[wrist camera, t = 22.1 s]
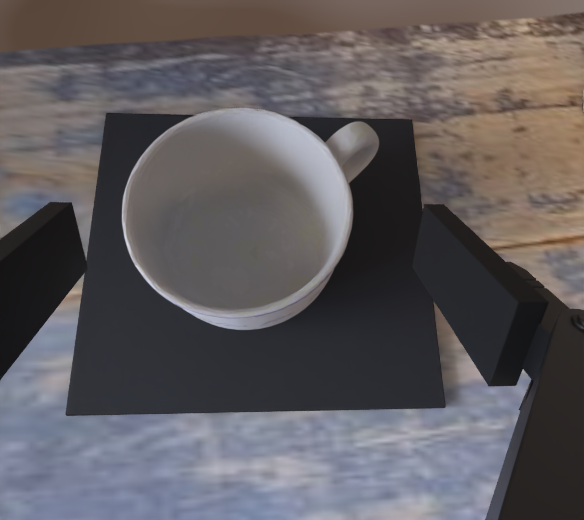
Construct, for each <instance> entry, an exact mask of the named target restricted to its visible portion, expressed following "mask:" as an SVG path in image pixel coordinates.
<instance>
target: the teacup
mask: <svg viewBox="0 0 584 520" xmlns="http://www.w3.org/2000/svg"><path fill="white" fill-rule="evenodd" d="M378 147H379V139H378V136H377V134H376V132H375V131H374V130H373V129H372V128H371V127H370V126H369V125H368V124H366V123H364V122H353V123H350V124H348V125H346V126H344V127H343V128H341V129H339V130H338V131H337V132H336V133H335V134H333V135H332V136H331V137H330V138H329V139H328V140H327V141H326V142H324V141H323V140H322V139H321V138H320V137H319V136H317V135H316V134H315V133H313V132H312V131H311V130H310V129H308V128H306V127H305V126H303V125H301V124H300V123H298V122H297V121H295V120H293V119H291V118H289V117H287V116H285V115H282V114H279V113H276V112H273V111H268V110H263V109H258V108H245V107H234V108H223V109H217V110H213V111H209V112H204V113H200V114H197V115H195V116H192V117H190V118H188V119H186V120H184V121H182V122H180V123H178V124H176V125H175V126H173V127H171V128H169V129H168V130H167V131H166V132H164V133H163V134H162V135H161V136H159V137H158V138H157V139H156V140H155V141H154V142H153V143H152V144H151V145H150V146H149V147H148V148H147V149H146V151H145V152H144V153H143V155H142V156H141V157H140V158H139V160H138V162H137V163H136V165H135V167H134V168H133V170H132V172H131V175H130V177H129V179H128V182H127V185H126V188H125V192H124V195H123V203H122V225H123V231H124V238H125V242H126V245H127V248H128V251H129V254H130V256H131V258H132V261H133V263H134V264H135V266H136V268H137V269H138V270H139V272H140V273H141V274H142V276H143V277H144V278H145V280H146V281H147V282H148V283H149V284H150V285H151V286H152V288H154V289H155V290H156V291H157V292H158V293H159V294H160V295H162V296H163V297H164V298H166V299H167V300H169V301H170V302H172V303H173V304H175V305H177V306H179V307H181V308H183V309H184V310H185V311H187V312H189V313H190V314H192V315H194V316H195V317H197V318H199V319H201V320H203V321H205V322H208V323H210V324H213V325H216V326H219V327H223V328H228V329H236V330H253V329H261V328H266V327H270V326H273V325H276V324H279V323H282V322H284V321H286V320H288V319H290V318H292V317H293V316H295V315H297V314H298V313H300V312H301V311H302V310H304V309H305V308H306V307H307V306H308V305H309V304H311V303H312V302H313V301H314V300H315V298H316V297H317V296H318V295H319V294H320V292H321V291H322V290H323V288H324V287H325V285H326V283H327V282H328V280H329V278H330V276H331V275H332V273H333V270H334V268H335V267H336V265H337V264H338V262H339V261H340V259H341V257H342V256H343V254H344V252H345V249H346V246H347V243H348V239H349V236H350V233H351V229H352V222H353V198H352V193H351V189H350V186H349V183H350V182H351V181H352V180H353V179H354V178H355V177H356V176H357V175H358V174H359V173H360V172H361V171H362V170H363V169H364V168H365V167H366V166H367V165H368V164H369V163H370V162H371V160H372V159H373V158H374V156H375V154H376V152H377V151H378Z"/></svg>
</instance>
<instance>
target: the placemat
mask: <svg viewBox="0 0 584 520" xmlns="http://www.w3.org/2000/svg"><path fill="white" fill-rule="evenodd" d="M192 116H195V115H171V114H123V113H106V119H105V127H104V134H103V142H102V149H101V156H100V164H99V171H98V179H97V186H96V193H95V201H94V208H93V215H92V223H91V230H90V238H89V245H88V252H87V260H86V263H87V267H88V269H87V270H86V271H85V275H84V282H83V289H82V297H81V304H80V312H79V319H78V326H77V334H76V341H75V348H74V356H73V363H72V371H71V378H70V385H69V393H68V400H67V408H66V416H75V415H124V414H173V413H222V412H271V411H320V410H369V409H418V408H445V398H444V389H443V381H442V372H441V364H440V355H439V347H438V338H437V329H436V321H435V312H434V304H433V299H432V297H431V295H430V294H429V292H428V291H427V289H426V288H425V286H424V285H423V283H422V281H421V280H420V278H419V277H418V275H417V274H416V272H415V270H414V269H413V267H412V265H413V260H414V254H415V249H416V244H417V239H418V234H419V228H420V223H421V218H422V213H423V210H422V201H421V193H420V184H419V175H418V167H417V158H416V150H415V141H414V133H413V124H412V120H409V119H361V118H314V117H289V118H291V119H293V120H295V121H297V122H298V123H300V124H301V125H303V126H305V127H306V128H308V129H310V130H311V131H312V132H313V133H315V134H316V135H317V136H319V137H320V138H321V139H322V140H323V141H324V142H326V141H327V140H328V139H329V138H330V137H331V136H332V135H333V134H335V133H336V132H337V131H338V130H339V129H341V128H343V127H344V126H346V125H348V124H350V123H353V122H364V123H366V124H368V125H369V126H370V127H371V128H372V129H373V130H374V131H375V132H376V134H377V136H378V139H379V147H378V151H377V152H376V154H375V156H374V158H373V159H372V160H371V162H370V163H369V164H368V165H367V166H366V167H365V168H364V169H363V170H362V171H361V172H360V173H359V174H358V175H357V176H356V177H355V178H354V179H353V180H352V181H351V182H350V183H349V186H350V189H351V193H352V198H353V222H352V229H351V233H350V236H349V239H348V243H347V246H346V249H345V252H344V254H343V256H342V257H341V259H340V261H339V262H338V264H337V265H336V267H335V268H334V270H333V273H332V275H331V276H330V278H329V280H328V282H327V283H326V285H325V287H324V288H323V290H322V291H321V292H320V294H319V295H318V296H317V297H316V298H315V300H314V301H313V302H312V303H311V304H309V305H308V306H307V307H306V308H305V309H304V310H302V311H301V312H300V313H298V314H297V315H295V316H293V317H292V318H290V319H288V320H286V321H284V322H282V323H279V324H276V325H273V326H270V327H266V328H261V329H253V330H236V329H228V328H223V327H219V326H216V325H213V324H210V323H208V322H205V321H203V320H201V319H199V318H197V317H195V316H194V315H192V314H190V313H189V312H187V311H185V310H184V309H183V308H181V307H179V306H177V305H175V304H173V303H172V302H170V301H169V300H167V299H166V298H164V297H163V296H162V295H160V294H159V293H158V292H157V291H156V290H155V289H154V288H152V286H151V285H150V284H149V283H148V282H147V281H146V280H145V278H144V277H143V276H142V274H141V273H140V272H139V270H138V269H137V268H136V266H135V264H134V263H133V261H132V258H131V256H130V254H129V251H128V248H127V245H126V242H125V238H124V231H123V225H122V203H123V195H124V192H125V188H126V185H127V182H128V179H129V177H130V175H131V172H132V170H133V168H134V167H135V165H136V163H137V162H138V160H139V158H140V157H141V156H142V155H143V153H144V152H145V151H146V149H147V148H148V147H149V146H150V145H151V144H152V143H153V142H154V141H155V140H156V139H157V138H158V137H159V136H161V135H162V134H163V133H164V132H166V131H167V130H168V129H169V128H171V127H173V126H175V125H176V124H178V123H180V122H182V121H184V120H186V119H188V118H190V117H192Z"/></svg>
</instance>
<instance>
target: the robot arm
mask: <svg viewBox="0 0 584 520" xmlns="http://www.w3.org/2000/svg"><path fill="white" fill-rule="evenodd" d="M412 267H413V269H414V270H415V272H416V274H417V275H418V277H419V278H420V280H421V281H422V283H423V285H424V286H425V288H426V289H427V291H428V292H429V294H430V295H431V297H432V299H433V300H434V302H435V303H436V305H437V306H438V308H439V309H440V311H441V313H442V314H443V316H444V317H445V319H446V320H447V322H448V323H449V325H450V327H451V328H452V330H453V331H454V333H455V334H456V336H457V337H458V339H459V341H460V342H461V344H462V345H463V347H464V348H465V350H466V351H467V353H468V355H469V356H470V358H471V359H472V361H473V362H474V364H475V365H476V367H477V369H478V370H479V372H480V373H481V375H482V376H483V378H484V379H485V381H486V383H487V384H488V386H516V385H517V382H518V379H519V377H520V374H521V372H522V369H524V370H525V372H526V373H527V374H528V375H529V377H530V378H531V379H532V380H531V382H530V384H529V387H528V389H527V392H526V394H525V396H524V399H523V401H522V404H521V406H520V408H519V410H521V411H520V414H519V417H518V420H517V423H516V426H515V429H514V432H513V436H512V439H511V442H510V445H509V448H508V451H507V454H506V457H505V460H504V463H503V467H502V470H501V473H500V476H499V479H498V482H497V485H496V488H495V491H494V494H493V498H492V501H491V504H490V507H489V510H488V513H487V516H486V519H485V520H584V310H580V309H569V308H568V307H567V306H566V305H565V304H564V303H563V302H562V301H560V300H559V299H558V298H557V297H556V296H555V295H554V294H553V293H551V292H550V291H549V290H548V289H547V288H544V285H542V284H541V283H540V282H539V281H536V278H534V277H533V276H532V275H531V274H530V273H529V272H528V271H527V270H525V269H523V268H521V267H520V266H518V265H516V264H514V263H512V262H505V261H504V260H503V259H502V258H501V257H500V256H499V255H498V254H497V253H496V252H494V251H493V250H492V249H491V248H490V247H489V246H488V245H487V244H486V243H485V242H484V241H483V240H481V239H480V238H479V237H478V236H477V235H476V234H475V233H474V232H473V231H472V230H471V229H470V228H469V227H467V226H466V225H465V224H464V223H463V222H462V221H461V220H460V219H459V218H458V217H457V216H456V215H455V214H453V213H452V212H451V211H450V210H449V209H448V208H447V207H446V206H445V205H444V204H424V208H423V213H422V218H421V223H420V228H419V234H418V239H417V244H416V249H415V254H414V260H413V265H412ZM87 269H88V267H87V263H86V259H85V255H84V251H83V247H82V243H81V238H80V234H79V230H78V226H77V222H76V218H75V214H74V210H73V206H72V202H50V203H48V204H47V205H46V206H44V207H43V208H42V209H40V210H39V211H38V212H36V213H35V214H34V215H32V216H31V217H30V218H28V219H27V220H26V221H24V222H23V223H21V224H20V225H19V226H17V227H16V228H15V229H13V230H12V231H11V232H9V233H8V234H7V235H5V236H4V237H3V238H1V239H0V380H1V378H2V377H3V376H4V374H5V373H6V372H7V371H8V369H9V368H10V367H11V366H12V364H13V363H14V362H15V360H16V359H17V358H18V357H19V355H20V354H21V353H22V352H23V350H24V349H25V348H26V346H27V345H28V344H29V343H30V341H31V340H32V339H33V337H34V336H35V335H36V334H37V332H38V331H39V330H40V329H41V327H42V326H43V325H44V323H45V322H46V321H47V320H48V318H49V317H50V316H51V315H52V313H53V312H54V311H55V309H56V308H57V307H58V306H59V304H60V303H61V302H62V300H63V299H64V298H65V297H66V295H67V294H68V293H69V292H70V290H71V289H72V288H73V286H74V285H75V284H76V283H77V281H78V280H79V279H80V278H81V276H82V275H83V274H84V272H85V271H86V270H87Z"/></svg>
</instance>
